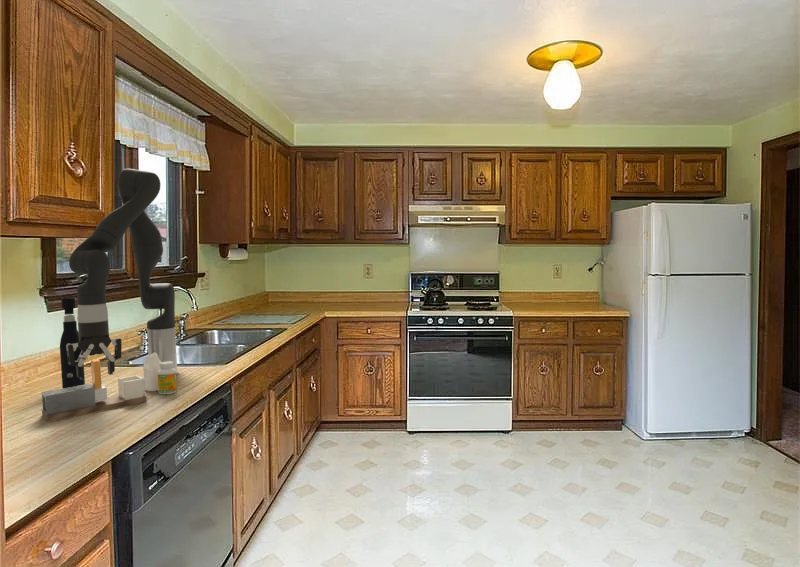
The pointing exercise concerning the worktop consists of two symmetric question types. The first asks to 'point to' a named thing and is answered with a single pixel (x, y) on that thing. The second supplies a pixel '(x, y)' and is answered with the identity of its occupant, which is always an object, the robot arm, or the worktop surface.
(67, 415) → the board
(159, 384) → the supplement bottle
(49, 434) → the worktop surface
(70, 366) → the black bottle
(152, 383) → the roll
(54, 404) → the grey rectangular box
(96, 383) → the slide bolt
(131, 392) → the socket
